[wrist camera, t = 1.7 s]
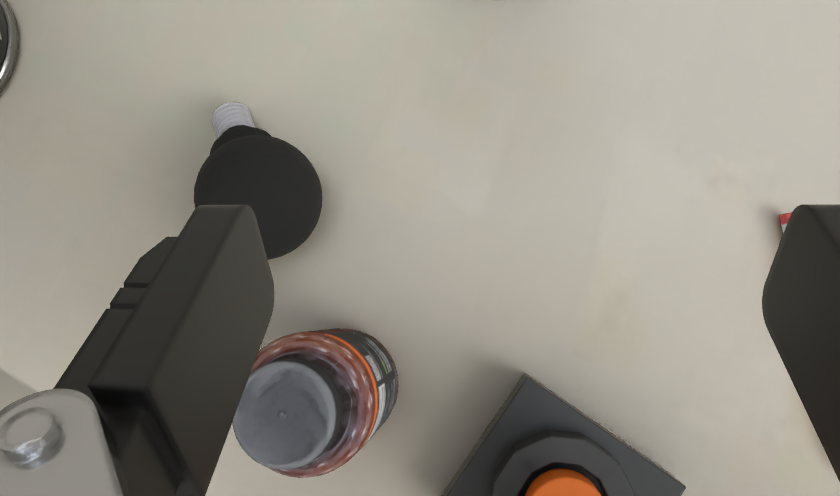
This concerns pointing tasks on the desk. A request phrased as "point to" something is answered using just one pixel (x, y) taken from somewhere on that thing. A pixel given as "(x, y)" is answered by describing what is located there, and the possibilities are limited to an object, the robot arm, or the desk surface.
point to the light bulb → (260, 180)
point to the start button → (562, 484)
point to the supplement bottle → (315, 400)
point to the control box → (554, 451)
